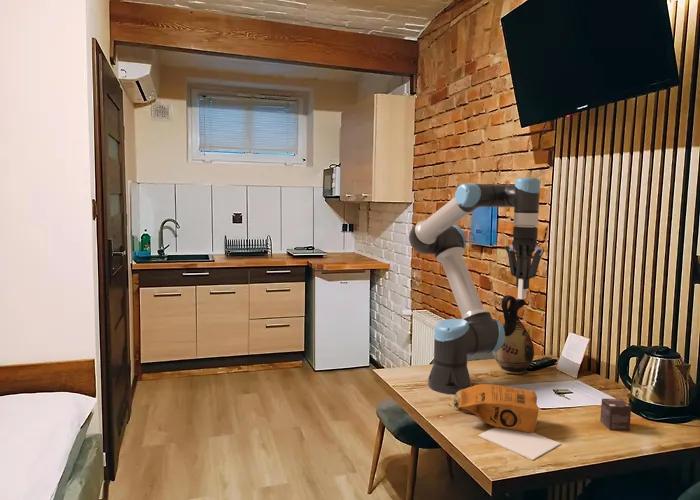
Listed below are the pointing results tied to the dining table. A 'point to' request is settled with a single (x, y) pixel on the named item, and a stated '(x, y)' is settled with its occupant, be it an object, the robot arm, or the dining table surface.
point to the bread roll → (456, 403)
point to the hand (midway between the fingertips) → (521, 298)
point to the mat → (520, 441)
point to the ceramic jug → (514, 340)
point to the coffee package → (501, 406)
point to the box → (615, 414)
